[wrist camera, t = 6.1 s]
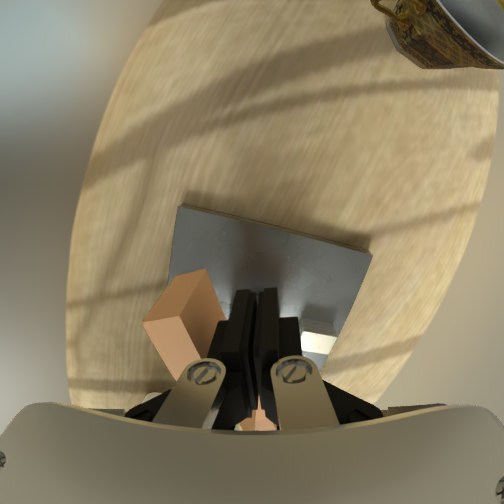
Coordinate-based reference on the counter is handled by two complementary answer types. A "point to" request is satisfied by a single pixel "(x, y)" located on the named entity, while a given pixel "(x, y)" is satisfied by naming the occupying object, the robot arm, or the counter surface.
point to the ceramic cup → (448, 32)
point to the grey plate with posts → (273, 270)
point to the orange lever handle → (191, 330)
